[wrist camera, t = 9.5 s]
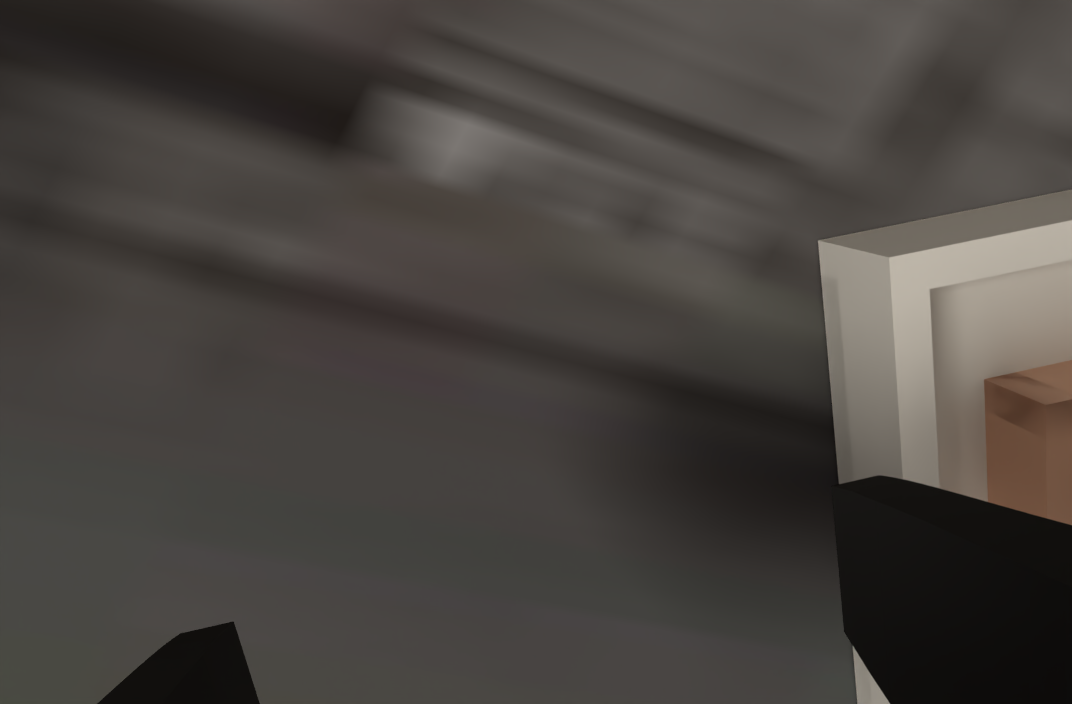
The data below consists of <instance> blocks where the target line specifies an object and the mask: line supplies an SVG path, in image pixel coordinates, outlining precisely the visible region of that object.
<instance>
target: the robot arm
mask: <svg viewBox="0 0 1072 704" xmlns="http://www.w3.org/2000/svg"><path fill="white" fill-rule="evenodd" d="M831 487H832V498H833V510H834V521H835V532H836V544H837V555H838V566H839V578H840V589H841V600H842V612H843V623H844V632H845V634H846V635H847V637H848V639H849V640H850V642H851V644H852V645H853V647H854V648H855V650H856V652H857V653H858V655H859V657H860V658H861V660H862V661H863V663H864V665H865V666H866V668H867V670H868V671H869V673H870V674H871V676H872V677H873V679H874V680H875V682H876V683H877V685H878V686H879V688H880V689H881V691H882V692H883V694H884V695H885V697H886V698H887V700H888V701H889V703H890V704H1072V525H1069V524H1066V523H1062V522H1058V521H1054V520H1051V519H1047V518H1043V517H1040V516H1036V515H1033V514H1029V513H1025V512H1022V511H1018V510H1015V509H1011V508H1008V507H1004V506H1000V505H997V504H993V503H990V502H986V501H983V500H979V499H976V498H972V497H969V496H965V495H962V494H958V493H954V492H951V491H947V490H944V489H940V488H936V487H932V486H928V485H925V484H921V483H917V482H913V481H908V480H904V479H899V478H894V477H888V476H882V475H878V476H873V477H869V478H864V479H860V480H855V481H851V482H847V483H842V484H838V485H833V486H831ZM98 704H260V703H259V700H258V697H257V694H256V691H255V688H254V684H253V681H252V678H251V675H250V672H249V669H248V665H247V662H246V659H245V656H244V653H243V650H242V646H241V643H240V640H239V637H238V634H237V631H236V627H235V624H234V622H229V623H225V624H221V625H216V626H212V627H207V628H203V629H198V630H194V631H190V632H185V633H181V634H179V635H178V636H176V637H175V638H173V639H172V640H171V641H169V642H168V643H166V644H165V645H164V646H163V647H161V648H160V649H159V650H158V651H157V652H155V653H154V654H153V655H152V656H151V657H149V658H148V659H147V660H146V661H145V662H144V663H142V664H141V665H140V666H139V667H138V668H137V669H135V670H134V671H133V672H132V673H131V674H130V675H129V676H128V677H127V678H125V679H124V680H123V681H122V682H121V683H120V684H119V685H118V686H116V687H115V688H114V689H113V690H112V691H111V692H110V693H109V694H108V695H106V696H105V697H104V698H103V699H102V700H101V701H100V702H99V703H98Z"/></svg>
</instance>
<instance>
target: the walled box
mask: <svg viewBox="0 0 1072 704" xmlns="http://www.w3.org/2000/svg"><path fill="white" fill-rule="evenodd" d="M818 246H819V258H820V269H821V281H822V293H823V304H824V316H825V328H826V340H827V351H828V363H829V375H830V386H831V398H832V410H833V422H834V433H835V445H836V457H837V469H838V480H839V484H842V483H847V482H851V481H855V480H860V479H864V478H869V477H873V476H878V475H882V476H888V477H894V478H899V479H904V480H908V481H913V482H917V483H921V484H925V485H928V486H932V487H936V488H940V489H944V490H947V491H951V492H954V493H958V494H962V495H965V496H969V497H972V498H976V499H979V500H983V501H986V502H990V503H993V504H997V505H1000V506H1004V507H1008V508H1011V509H1015V510H1018V511H1022V512H1025V513H1029V514H1033V515H1036V516H1040V517H1043V518H1047V519H1051V520H1054V521H1058V522H1062V523H1066V524H1069V525H1072V189H1071V190H1066V191H1061V192H1056V193H1051V194H1046V195H1041V196H1036V197H1031V198H1026V199H1021V200H1016V201H1011V202H1006V203H1001V204H996V205H991V206H986V207H981V208H977V209H972V210H967V211H962V212H957V213H952V214H947V215H942V216H937V217H932V218H927V219H922V220H917V221H912V222H907V223H902V224H897V225H892V226H887V227H882V228H877V229H872V230H867V231H862V232H857V233H852V234H847V235H842V236H837V237H832V238H827V239H823V240H818ZM853 656H854V668H855V680H856V691H857V703H858V704H890V703H889V701H888V700H887V698H886V697H885V695H884V694H883V692H882V691H881V689H880V688H879V686H878V685H877V683H876V682H875V680H874V679H873V677H872V676H871V674H870V673H869V671H868V670H867V668H866V666H865V665H864V663H863V661H862V660H861V658H860V657H859V655H858V653H857V652H856V650H855V648H854V647H853Z"/></svg>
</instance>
